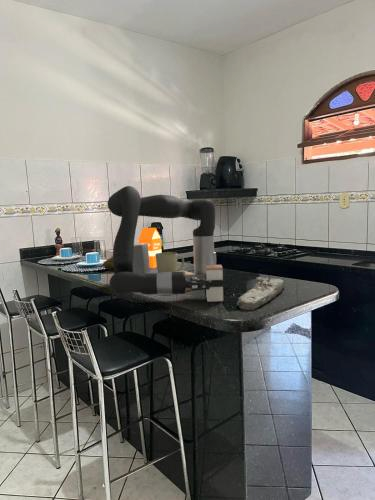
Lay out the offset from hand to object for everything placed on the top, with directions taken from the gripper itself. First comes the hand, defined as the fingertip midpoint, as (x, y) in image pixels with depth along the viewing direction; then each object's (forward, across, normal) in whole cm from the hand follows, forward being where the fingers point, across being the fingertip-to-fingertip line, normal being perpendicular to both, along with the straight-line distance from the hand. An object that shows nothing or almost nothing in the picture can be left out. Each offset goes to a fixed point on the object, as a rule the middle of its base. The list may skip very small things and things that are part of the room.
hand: (221, 281), depth 127 cm
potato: (-48, +62, +6) cm, 79 cm away
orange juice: (-31, +71, +6) cm, 77 cm away
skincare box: (-31, +33, +6) cm, 46 cm away
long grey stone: (+14, +2, +7) cm, 15 cm away
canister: (-3, 0, +6) cm, 7 cm away
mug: (-19, +30, +6) cm, 36 cm away
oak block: (-15, +18, +6) cm, 24 cm away
